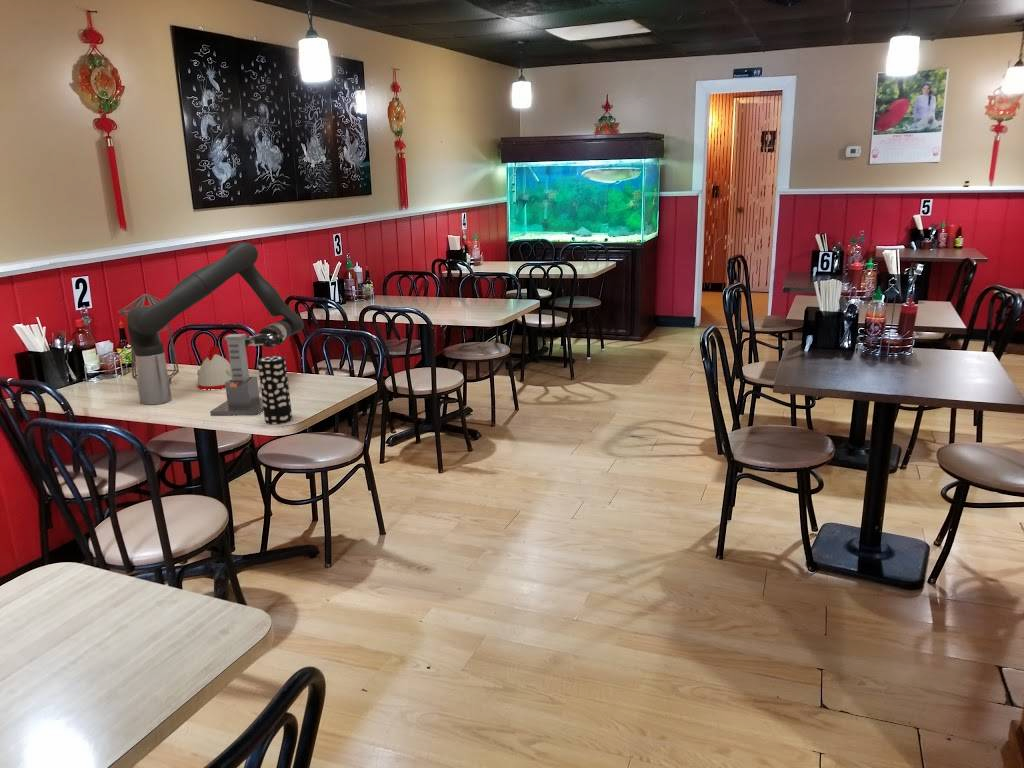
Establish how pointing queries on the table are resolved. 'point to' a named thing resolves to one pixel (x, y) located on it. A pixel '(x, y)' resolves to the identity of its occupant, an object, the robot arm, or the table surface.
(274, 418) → the white-spotted black cylinder
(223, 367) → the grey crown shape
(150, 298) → the geometric lantern
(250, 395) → the stand base
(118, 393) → the table surface
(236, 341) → the stand post
